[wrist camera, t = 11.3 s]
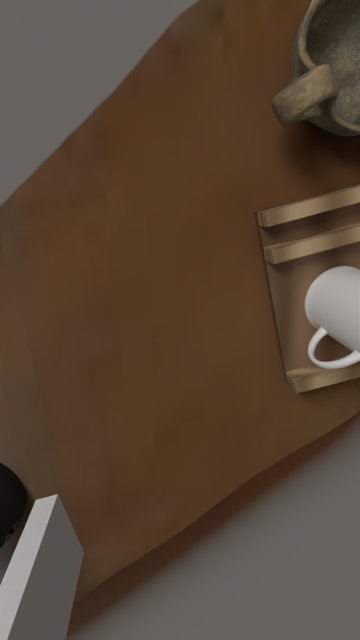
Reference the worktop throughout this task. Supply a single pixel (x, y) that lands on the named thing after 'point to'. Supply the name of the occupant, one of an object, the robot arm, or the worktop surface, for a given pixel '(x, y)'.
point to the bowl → (325, 70)
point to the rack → (308, 277)
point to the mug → (335, 312)
